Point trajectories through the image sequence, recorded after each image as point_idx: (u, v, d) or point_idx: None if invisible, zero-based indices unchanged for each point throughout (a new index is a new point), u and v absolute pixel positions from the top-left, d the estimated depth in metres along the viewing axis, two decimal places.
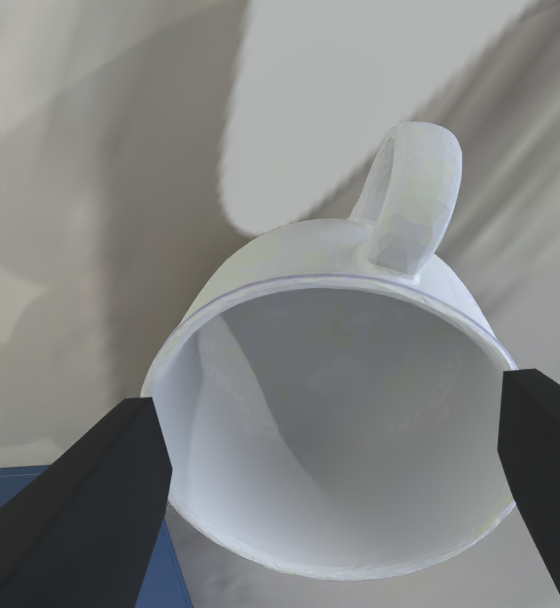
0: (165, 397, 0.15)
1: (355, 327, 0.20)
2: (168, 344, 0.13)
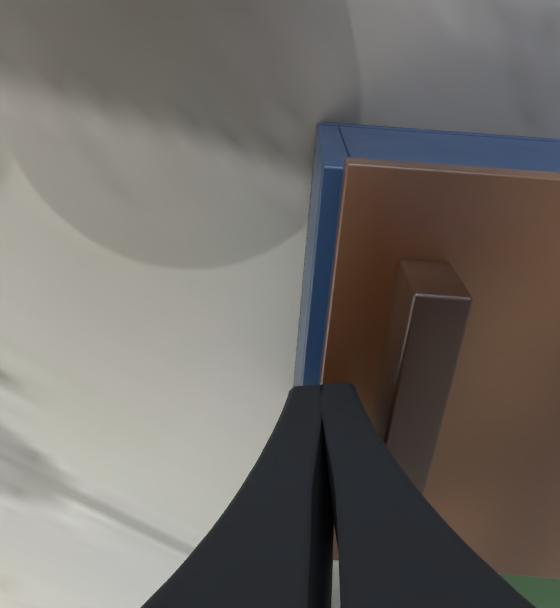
0: None
1: None
2: None
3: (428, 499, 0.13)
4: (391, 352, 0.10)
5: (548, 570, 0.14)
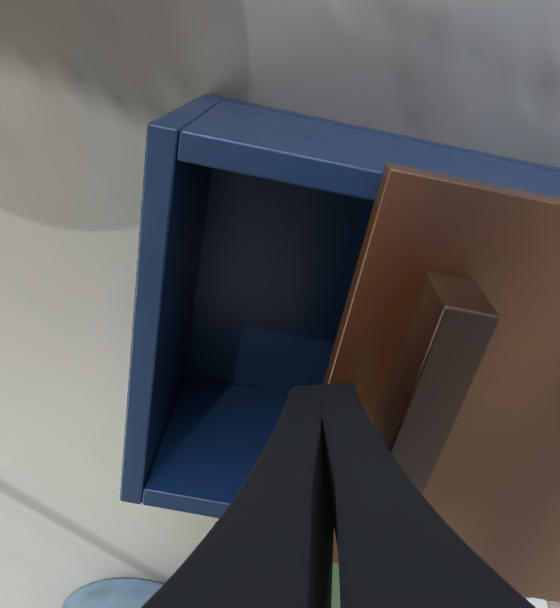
0: None
1: None
2: None
3: None
4: (407, 360, 0.10)
5: (517, 587, 0.14)
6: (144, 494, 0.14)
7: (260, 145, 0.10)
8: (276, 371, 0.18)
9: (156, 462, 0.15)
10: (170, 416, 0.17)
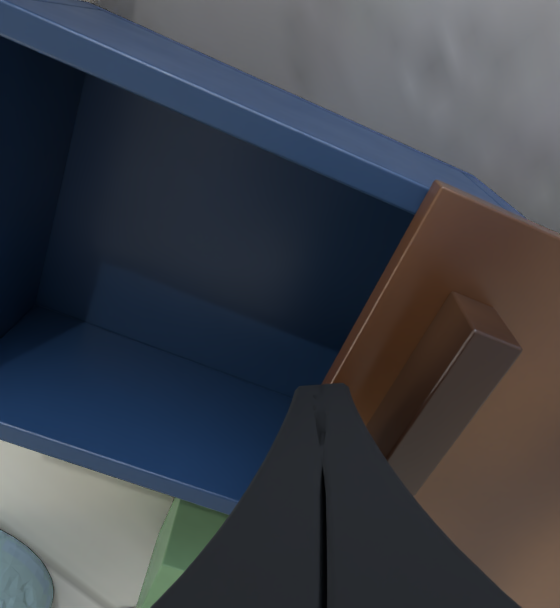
0: None
1: None
2: None
3: None
4: (418, 375, 0.10)
5: None
6: None
7: (77, 31, 0.09)
8: (132, 316, 0.18)
9: None
10: (0, 338, 0.16)
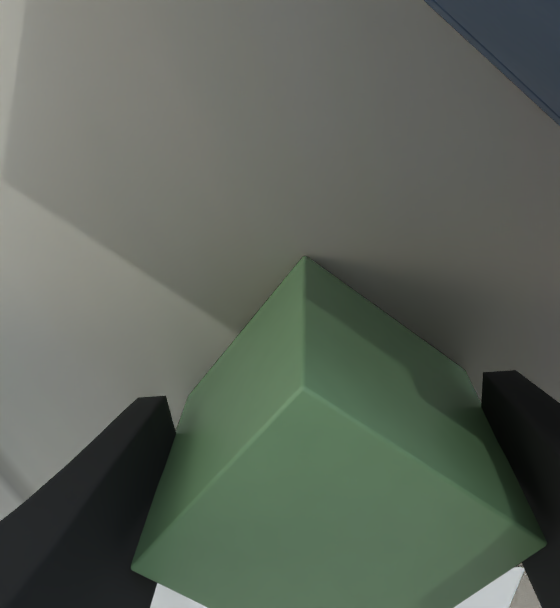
0: None
1: None
2: None
3: None
4: None
5: None
6: None
7: None
8: None
9: None
10: None
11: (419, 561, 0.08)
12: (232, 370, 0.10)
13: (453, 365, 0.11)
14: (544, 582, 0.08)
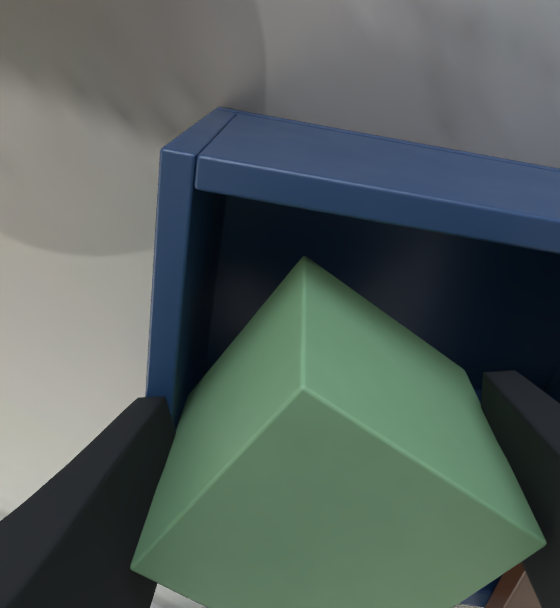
0: None
1: None
2: None
3: None
4: None
5: None
6: None
7: (289, 170, 0.09)
8: None
9: None
10: None
11: (419, 560, 0.08)
12: (232, 370, 0.10)
13: (452, 365, 0.11)
14: (544, 582, 0.08)
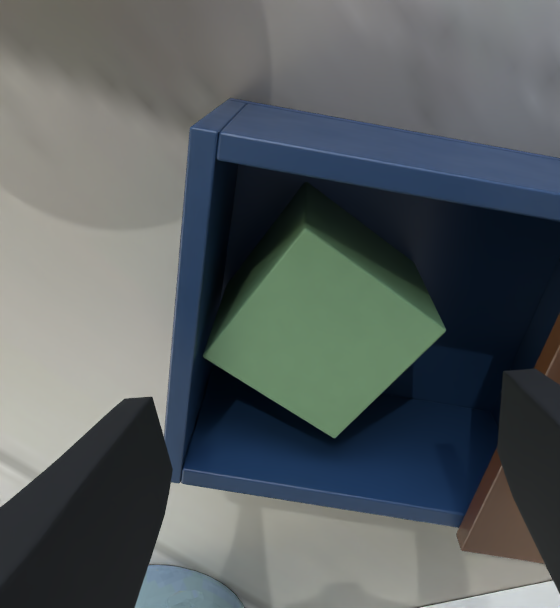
0: None
1: None
2: None
3: None
4: None
5: None
6: (183, 473, 0.15)
7: (292, 144, 0.11)
8: None
9: (192, 444, 0.16)
10: (202, 403, 0.18)
11: (374, 344, 0.14)
12: (260, 253, 0.16)
13: (405, 257, 0.17)
14: None
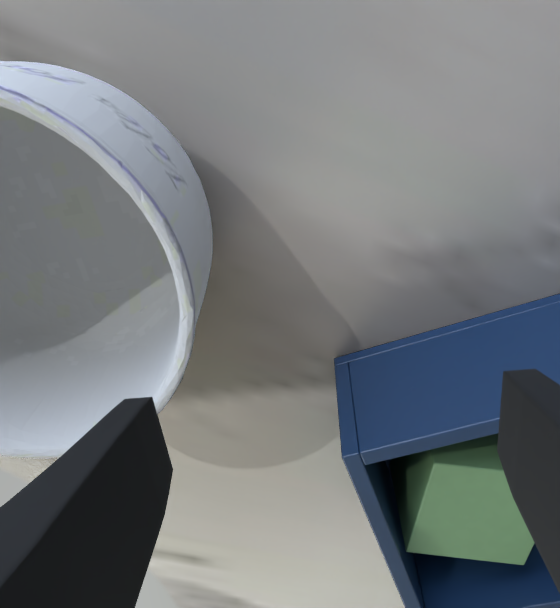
0: (58, 422, 0.17)
1: (62, 191, 0.19)
2: None
3: None
4: None
5: None
6: None
7: (405, 440, 0.17)
8: None
9: (425, 600, 0.22)
10: (414, 557, 0.23)
11: None
12: None
13: None
14: None
